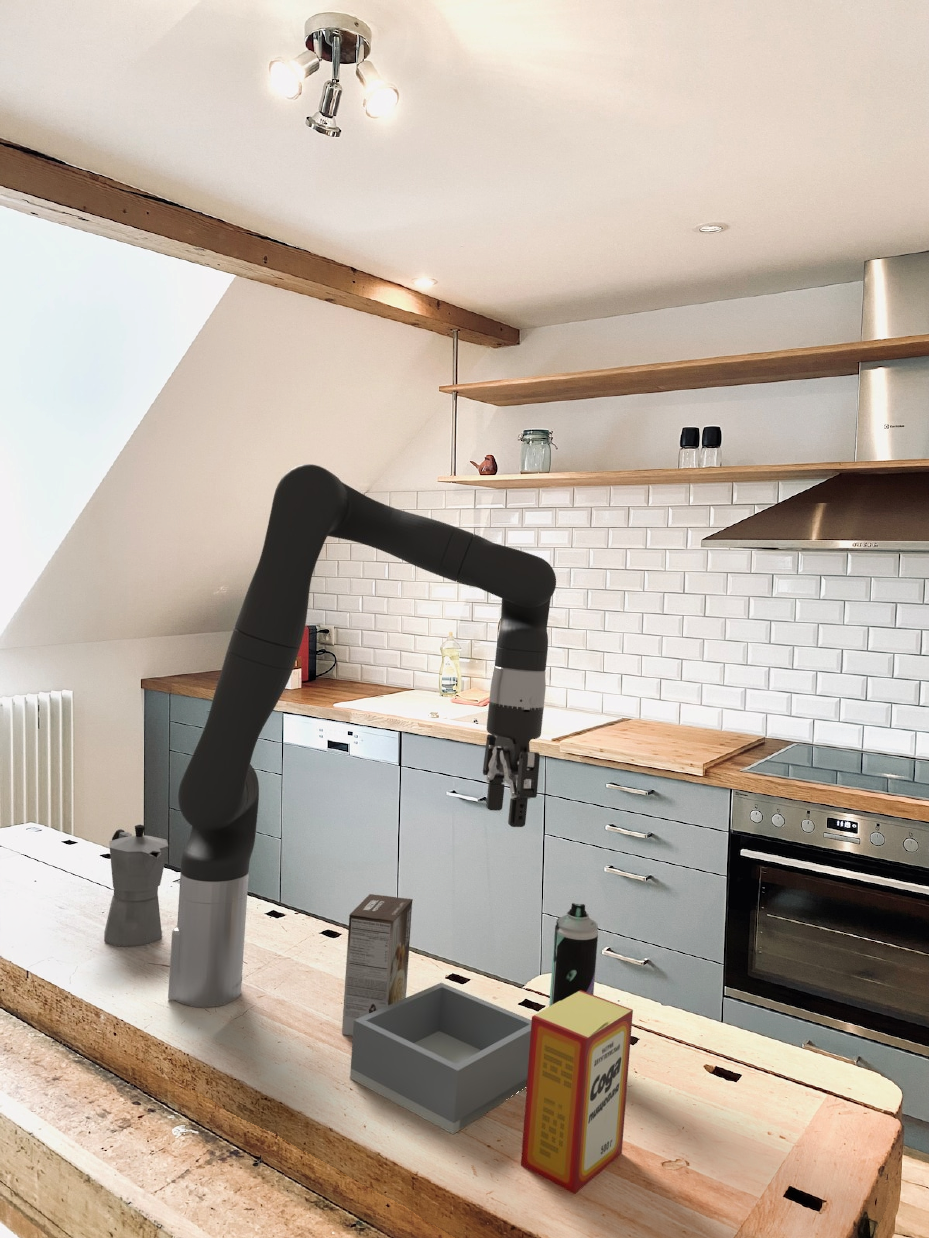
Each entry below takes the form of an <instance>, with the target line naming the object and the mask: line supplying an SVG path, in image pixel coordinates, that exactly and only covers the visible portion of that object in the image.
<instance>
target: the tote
mask: <svg viewBox="0 0 929 1238" xmlns="http://www.w3.org/2000/svg"><path fill="white" fill-rule="evenodd" d="M531 1022H532V1019H530V1018H527V1017H524V1016H523V1015H520V1014H517V1013H515V1012H513V1011H510V1010H508V1009H506V1008H503V1007H500V1006H498V1005H496V1004H493V1003H492V1002H489V1001H487V1000H484V999H482V998H479V997H477V996H475V995H473V994H471V993H470V994H469V993H467V992H465V991H462V990H460V989H457V988H455V987H453V986H450V985H448V984H445V983H443V982H438V983H437V984H435V985H433V986H430V987H428V988H425V989H423V990H421V991H419V992H416V993H414V994H412V995H409V996H406V998H404V999H402V1000H400V1001H397V1002H395V1003H393V1004H390V1005H388V1006H386V1007H383V1008H381V1009H379V1010H376V1011H374V1012H372V1013H369V1014H367V1015H365V1016H362V1017H360V1018H358V1019H355V1020H354V1027H353V1036H352V1042H351V1044H352V1046H351V1056H350V1057H351V1058H350V1073H349V1074H350V1075H349V1079H351V1080H353V1081H355V1082H356V1083H358V1084H360V1085H362V1086H364V1087H365V1088H367V1089H369V1090H371V1091H373V1092H375V1093H376V1094H378V1095H380V1096H382V1097H384V1098H386V1099H388V1100H389V1101H391V1102H392V1103H395V1104H397V1105H399V1106H401V1107H402V1108H405V1109H406V1110H408V1111H409V1112H412V1113H414V1114H415V1115H417V1116H419V1117H420V1118H422V1119H425V1120H426V1121H429V1122H430V1123H431V1124H434V1125H436V1126H437V1127H439V1128H441V1129H442V1130H445V1131H447V1132H448V1133H449V1134H452V1135H455V1134H456V1133H457V1132H459V1131H460V1130H462V1129H464V1128H465V1127H467V1126H468V1125H470V1124H472V1123H473V1122H475V1121H477V1120H479V1118H481V1117H483V1116H484V1115H486V1114H487V1112H488V1113H490V1111H492V1110H494V1109H495V1108H497V1107H498V1106H497V1105H499V1106H500V1105H502V1104H503V1103H505V1102H506V1101H507V1100H506V1099H508V1098H510V1097H511V1096H512V1095H514V1096H516V1095H517V1094H516V1093H517V1092H518V1091H521V1090H522V1089H524V1088H525V1087H527V1075H528V1062H529V1049H530V1035H531ZM525 1089H526V1088H525ZM525 1089H524V1090H525ZM522 1091H523V1090H522ZM522 1091H521V1092H522ZM515 1094H516V1095H515ZM511 1098H512V1097H511ZM511 1098H510V1099H511ZM508 1100H509V1099H508ZM504 1101H505V1102H504ZM502 1102H503V1103H502ZM501 1103H502V1104H501ZM491 1109H492V1110H491Z"/></svg>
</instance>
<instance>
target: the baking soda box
mask: <svg viewBox="0 0 929 1238" xmlns="http://www.w3.org/2000/svg"><path fill="white" fill-rule="evenodd" d="M633 1012H634V1009H632V1008H629V1007H627V1006H623V1005H622V1004H619V1003H616V1002H613V1001H611V1000H607V999H605V998H602V997H601V996H598V995H595V994H593V995H592V994H589V993H587V992H584V991H581V990H580V991H578V992H576V993H574V994H573V995H571V996H569V997H567V998H565V999H563V1000H562V1001H558V1002H557V1003H555V1004H553V1005H551V1006H550V1007H549V1006H548V1007H546V1008H545V1009H543V1010H541V1011H539V1012H537V1013H536V1014H534V1015H532V1016H531V1020H532V1022H531V1035H530V1049H529V1062H528V1075H527V1088H525V1090H526V1091H525V1105H524V1106H525V1107H524V1119H523V1129H522V1130H523V1131H522V1142H521V1143H522V1145H521V1156H520V1157H521V1158H520V1166H521V1167H523V1168H524V1169H527V1170H529V1171H530V1172H532V1173H534V1174H536V1175H538V1176H540V1177H542V1178H544V1179H545V1180H547V1181H549V1182H551V1183H552V1184H555V1185H557V1186H558V1187H561V1189H565V1190H566V1191H568V1192H570V1193H572V1194H574V1195H575V1194H577V1193H578V1192H579V1191H580V1190H581V1189H582V1188H584V1186H586V1185H587V1184H588V1183H590V1182H591V1181H592V1180H593V1179H594V1178H595V1177H596V1176H597V1175H599V1174H600V1173H601V1172H602V1171H603V1170H605V1169H606V1168H607V1167H608V1166H609V1165H610V1164H611V1163H612V1162H614V1161H616V1159H618V1157H620V1156H621V1155H622V1154H623V1143H624V1141H623V1140H624V1130H625V1129H624V1128H625V1115H626V1102H627V1090H628V1080H629V1079H628V1077H629V1076H628V1075H629V1066H630V1065H629V1064H630V1055H631V1054H630V1053H631V1041H632V1040H631V1037H632V1025H633Z"/></svg>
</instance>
